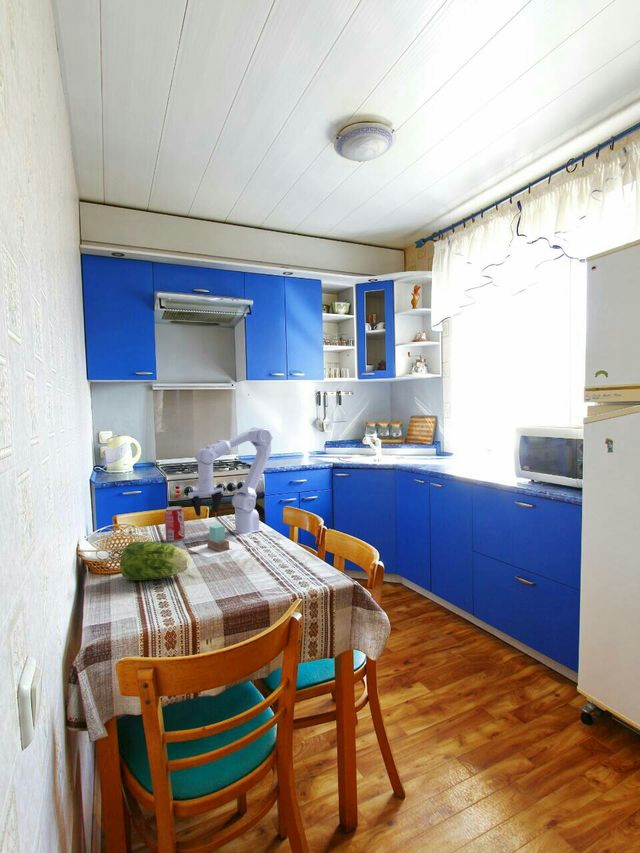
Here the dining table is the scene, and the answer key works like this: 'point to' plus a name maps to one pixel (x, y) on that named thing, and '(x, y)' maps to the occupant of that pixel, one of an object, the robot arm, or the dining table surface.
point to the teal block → (217, 533)
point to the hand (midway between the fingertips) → (207, 513)
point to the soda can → (174, 524)
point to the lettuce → (152, 560)
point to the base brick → (218, 545)
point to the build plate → (210, 552)
